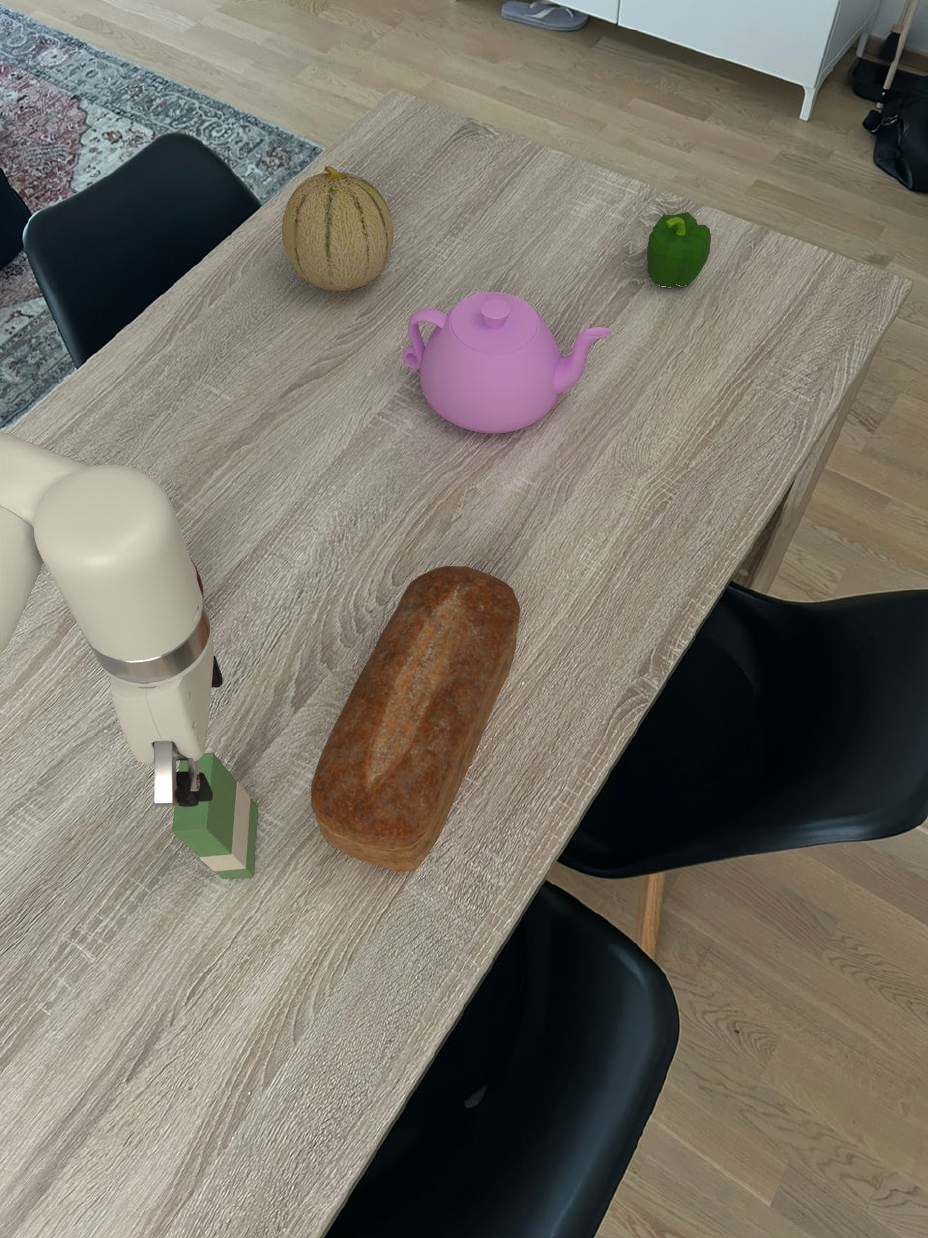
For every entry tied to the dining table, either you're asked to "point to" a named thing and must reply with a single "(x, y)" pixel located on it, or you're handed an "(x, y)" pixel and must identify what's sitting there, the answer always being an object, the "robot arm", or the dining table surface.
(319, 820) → the bread
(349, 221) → the cantaloupe
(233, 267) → the dining table surface
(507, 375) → the teapot
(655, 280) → the bell pepper
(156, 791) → the robot arm
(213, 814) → the block
